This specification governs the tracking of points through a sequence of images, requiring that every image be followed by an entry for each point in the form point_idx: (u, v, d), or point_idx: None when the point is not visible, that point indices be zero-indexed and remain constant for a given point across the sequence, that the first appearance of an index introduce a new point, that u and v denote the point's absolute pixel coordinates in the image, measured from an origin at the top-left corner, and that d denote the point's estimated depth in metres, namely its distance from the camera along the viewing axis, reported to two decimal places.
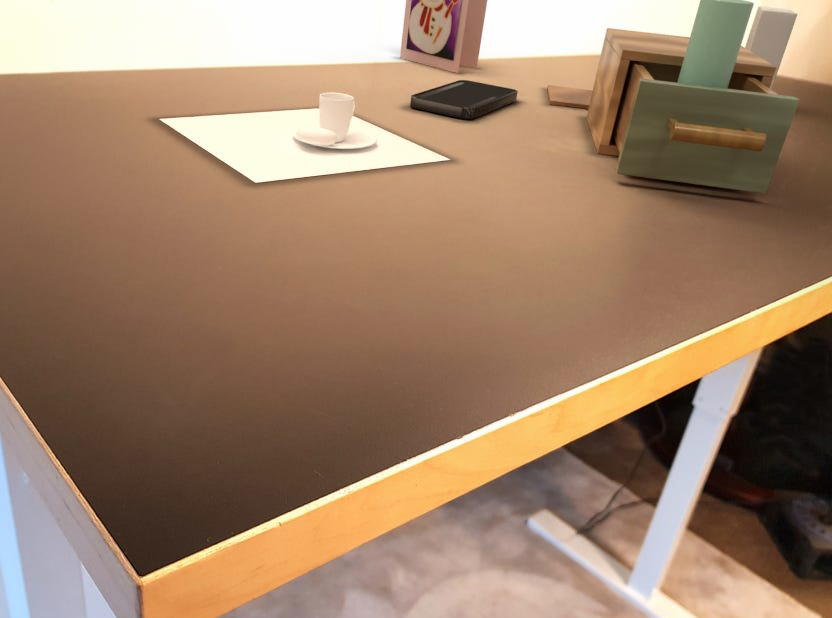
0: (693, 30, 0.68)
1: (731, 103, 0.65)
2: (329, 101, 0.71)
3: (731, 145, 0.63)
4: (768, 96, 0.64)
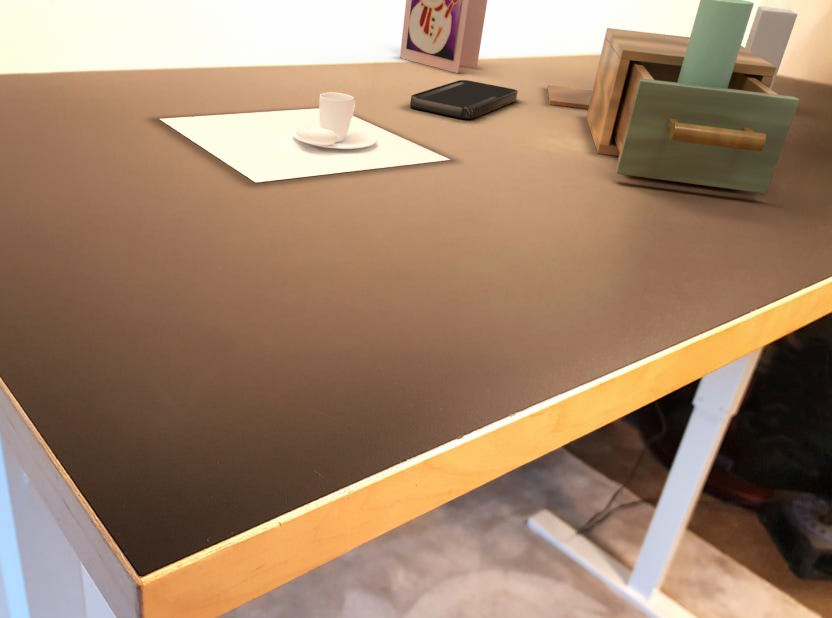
0: (693, 30, 0.68)
1: (731, 103, 0.65)
2: (329, 101, 0.71)
3: (731, 145, 0.63)
4: (768, 96, 0.64)
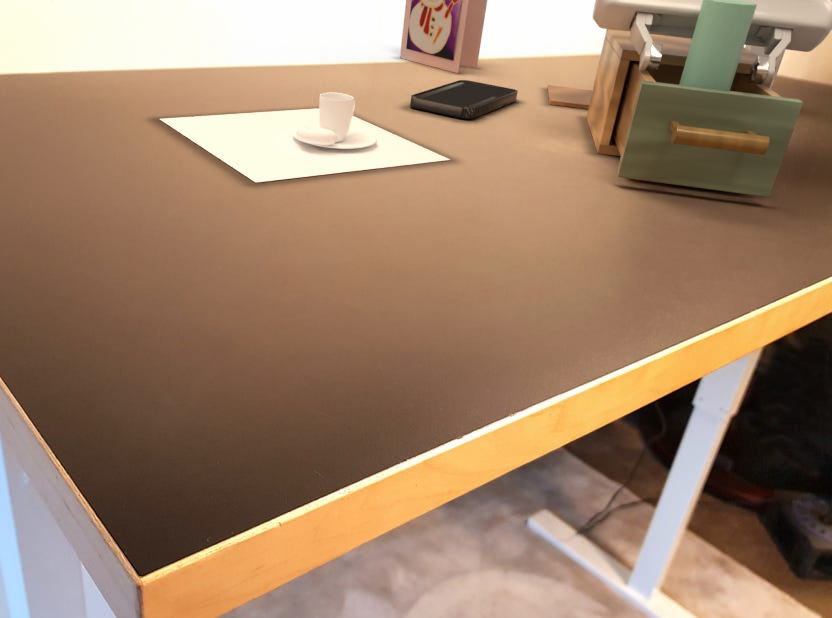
0: (695, 31, 0.67)
1: (734, 106, 0.64)
2: (329, 101, 0.71)
3: (734, 149, 0.62)
4: (771, 98, 0.63)
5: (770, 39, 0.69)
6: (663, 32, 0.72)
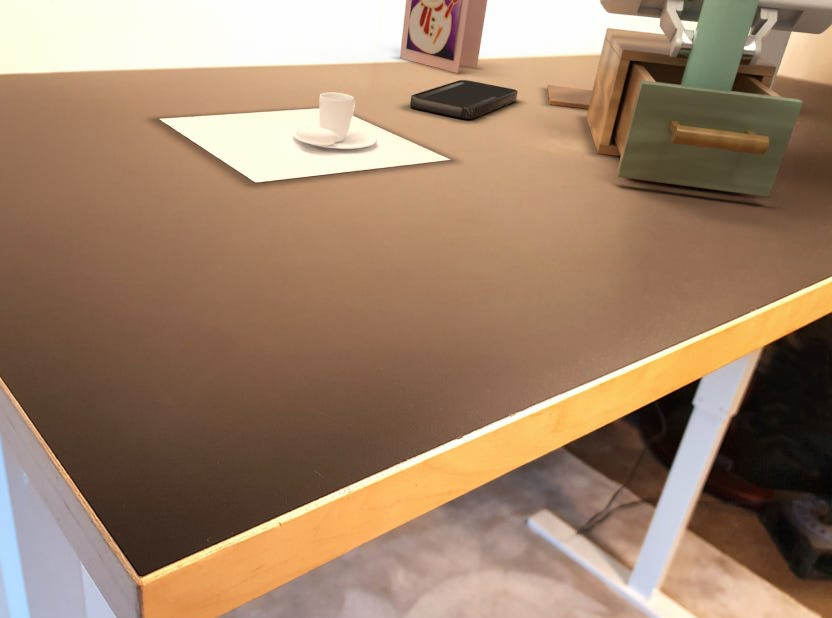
0: (701, 14, 0.67)
1: (734, 105, 0.64)
2: (329, 101, 0.71)
3: (734, 148, 0.62)
4: (771, 98, 0.64)
5: (756, 19, 0.69)
6: None
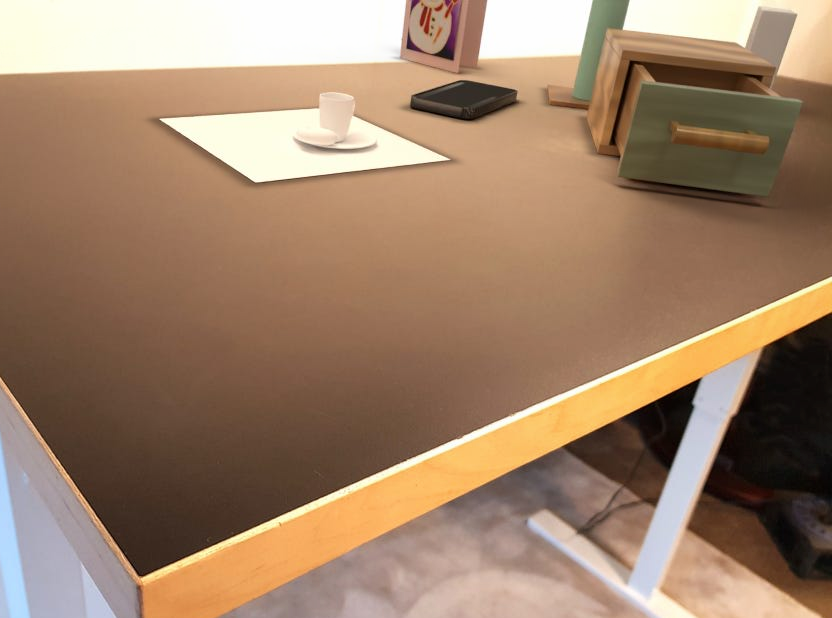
0: (591, 7, 0.95)
1: (734, 105, 0.64)
2: (329, 101, 0.71)
3: (734, 148, 0.62)
4: (771, 98, 0.64)
5: None
6: None
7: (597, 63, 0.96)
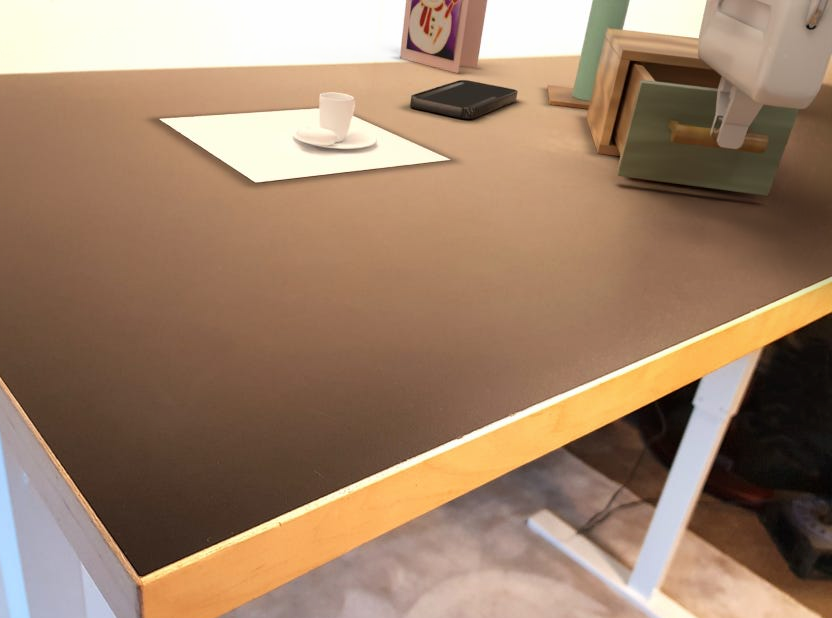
0: (591, 7, 0.95)
1: None
2: (329, 101, 0.71)
3: None
4: None
5: None
6: None
7: (597, 63, 0.96)
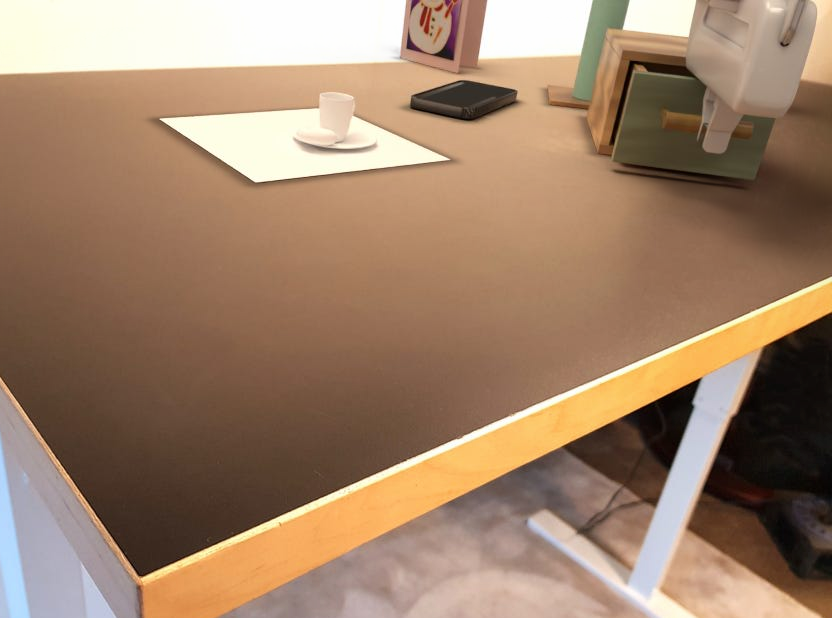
0: (591, 7, 0.95)
1: None
2: (329, 101, 0.71)
3: None
4: None
5: None
6: None
7: (597, 63, 0.96)
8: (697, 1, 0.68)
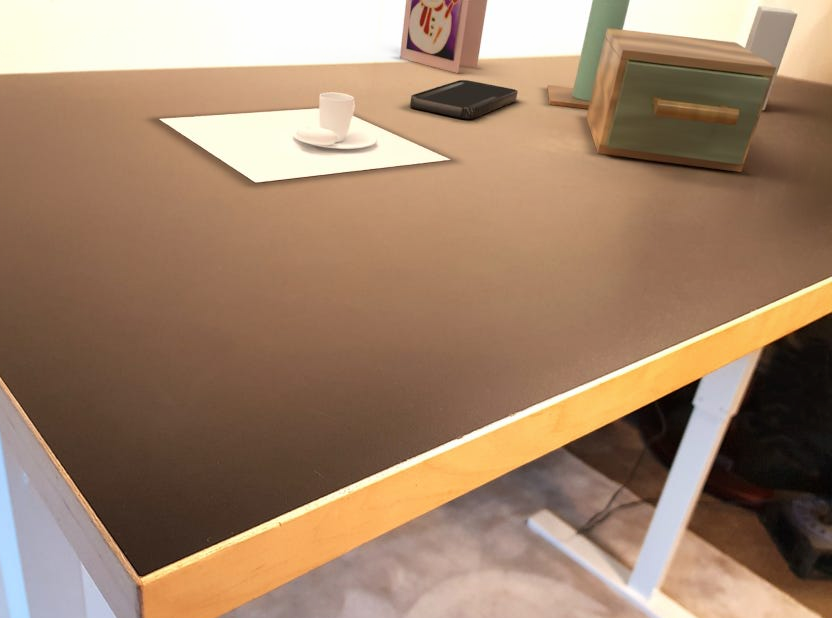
0: (591, 7, 0.95)
1: (709, 83, 0.73)
2: (329, 101, 0.71)
3: (708, 120, 0.70)
4: (742, 76, 0.72)
5: None
6: None
7: (597, 63, 0.96)
8: None
